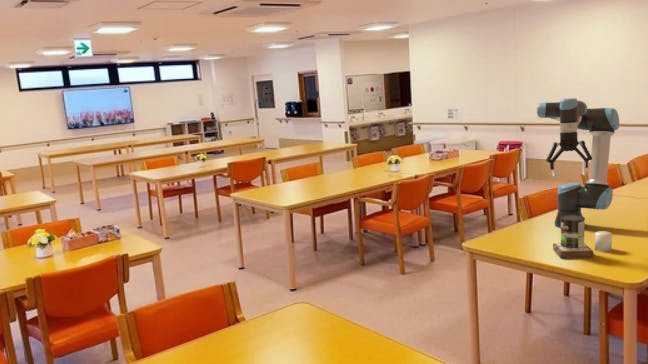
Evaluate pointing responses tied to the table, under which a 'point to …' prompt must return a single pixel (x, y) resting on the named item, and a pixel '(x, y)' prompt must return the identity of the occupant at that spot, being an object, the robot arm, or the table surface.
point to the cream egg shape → (603, 241)
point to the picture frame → (572, 252)
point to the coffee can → (572, 232)
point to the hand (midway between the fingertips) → (569, 175)
